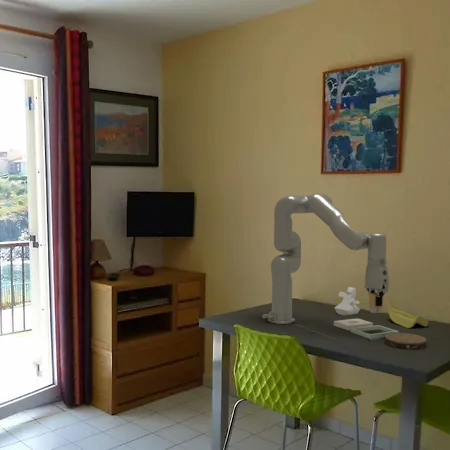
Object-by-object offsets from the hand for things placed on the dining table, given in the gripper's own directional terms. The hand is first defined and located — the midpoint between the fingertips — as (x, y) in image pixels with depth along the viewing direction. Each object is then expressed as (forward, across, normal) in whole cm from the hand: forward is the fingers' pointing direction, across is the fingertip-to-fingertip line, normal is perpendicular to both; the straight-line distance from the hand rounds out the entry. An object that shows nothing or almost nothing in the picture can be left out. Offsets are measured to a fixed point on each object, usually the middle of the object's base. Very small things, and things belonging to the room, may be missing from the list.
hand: (375, 304), depth 226 cm
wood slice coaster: (+14, -15, -2) cm, 21 cm away
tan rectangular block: (+3, 0, 0) cm, 3 cm away
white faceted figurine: (+13, +38, -17) cm, 43 cm away
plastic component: (+14, +12, -30) cm, 35 cm away
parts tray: (+13, 0, 0) cm, 13 cm away
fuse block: (+13, +14, 0) cm, 19 cm away
